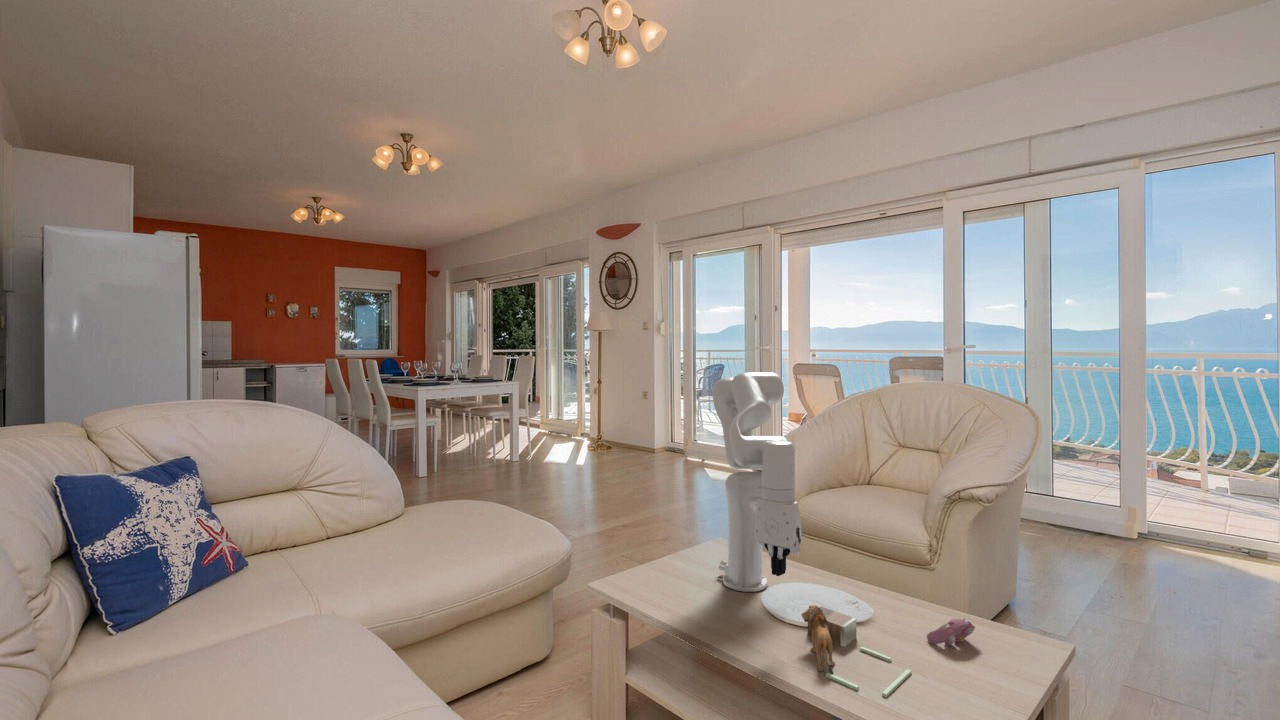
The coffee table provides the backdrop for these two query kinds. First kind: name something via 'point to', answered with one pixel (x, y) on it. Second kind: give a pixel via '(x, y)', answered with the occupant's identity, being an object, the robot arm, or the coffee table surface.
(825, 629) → the lion figurine
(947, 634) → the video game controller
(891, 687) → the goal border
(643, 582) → the coffee table surface
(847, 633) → the walnut block
